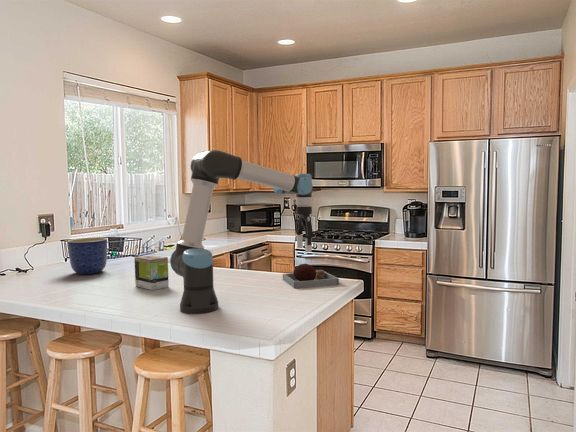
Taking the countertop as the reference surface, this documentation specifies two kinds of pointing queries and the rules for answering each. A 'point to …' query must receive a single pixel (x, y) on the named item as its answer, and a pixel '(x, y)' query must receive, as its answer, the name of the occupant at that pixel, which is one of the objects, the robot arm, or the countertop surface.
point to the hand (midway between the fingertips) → (304, 249)
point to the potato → (304, 272)
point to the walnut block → (319, 274)
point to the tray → (311, 281)
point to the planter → (88, 254)
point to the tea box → (151, 272)
